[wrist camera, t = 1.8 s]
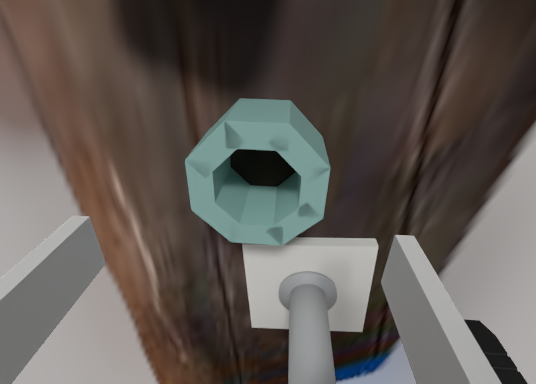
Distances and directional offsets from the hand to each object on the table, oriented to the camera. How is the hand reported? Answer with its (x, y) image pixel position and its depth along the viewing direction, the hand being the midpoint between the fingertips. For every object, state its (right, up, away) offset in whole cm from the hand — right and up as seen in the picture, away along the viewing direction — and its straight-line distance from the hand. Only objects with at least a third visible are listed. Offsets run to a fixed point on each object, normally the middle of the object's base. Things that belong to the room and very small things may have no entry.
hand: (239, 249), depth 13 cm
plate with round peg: (+5, -6, +14) cm, 16 cm away
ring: (+1, +5, +8) cm, 10 cm away
